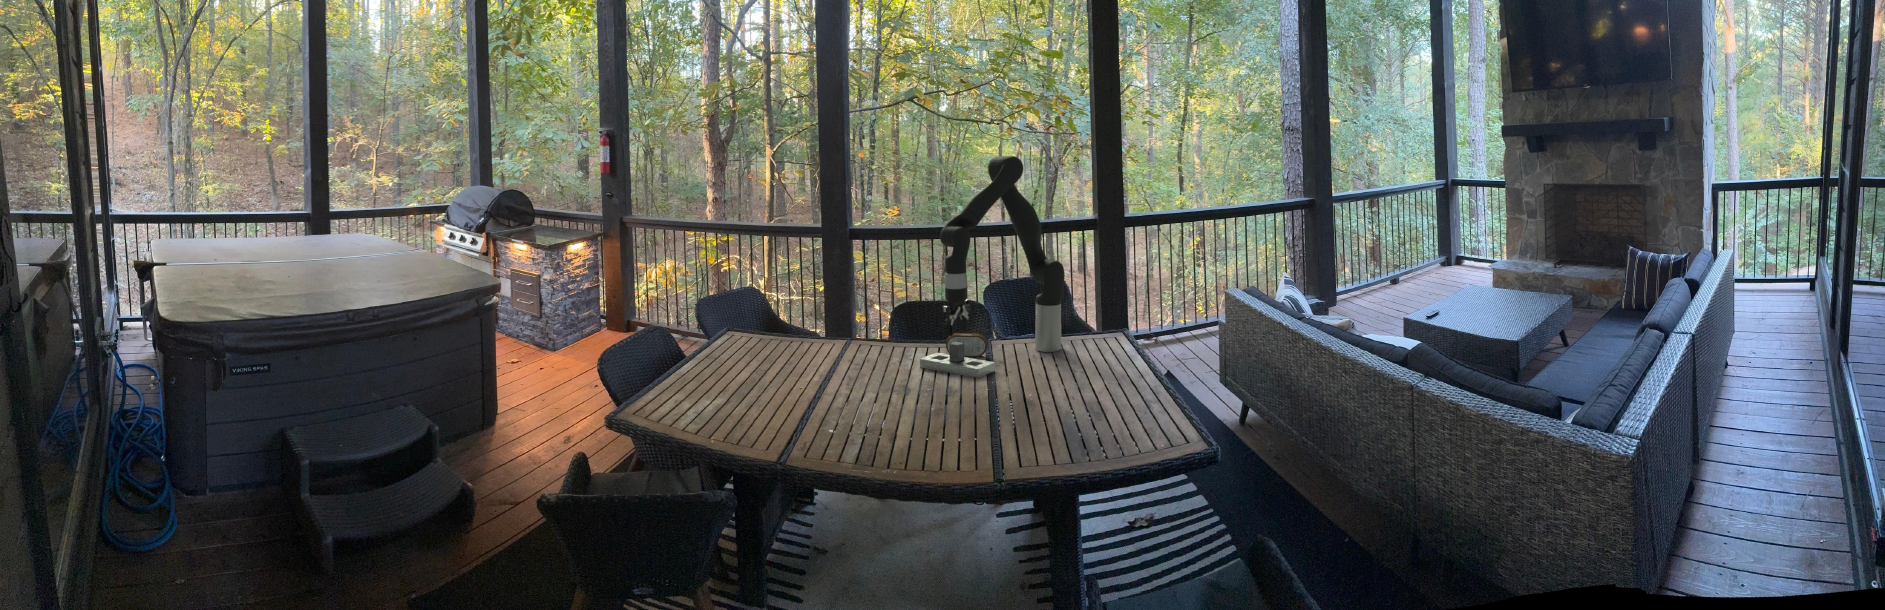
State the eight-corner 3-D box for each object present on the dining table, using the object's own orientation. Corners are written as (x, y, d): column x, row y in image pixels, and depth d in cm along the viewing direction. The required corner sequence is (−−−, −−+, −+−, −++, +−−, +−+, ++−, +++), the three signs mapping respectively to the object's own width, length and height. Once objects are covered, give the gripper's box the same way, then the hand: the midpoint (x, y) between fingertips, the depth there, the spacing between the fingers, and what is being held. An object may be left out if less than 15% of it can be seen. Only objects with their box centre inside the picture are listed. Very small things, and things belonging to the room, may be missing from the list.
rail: (936, 360, 319) (936, 352, 318) (994, 370, 305) (994, 362, 305) (920, 367, 311) (919, 358, 311) (978, 377, 297) (978, 369, 297)
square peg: (955, 367, 311) (955, 341, 309) (964, 368, 309) (964, 343, 307) (949, 369, 308) (949, 343, 306) (958, 371, 306) (958, 345, 304)
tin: (987, 355, 326) (987, 332, 324) (987, 357, 322) (987, 334, 321) (946, 355, 327) (945, 332, 325) (945, 357, 324) (945, 334, 322)
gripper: (953, 290, 295) (954, 338, 298) (977, 283, 306) (978, 329, 309) (934, 288, 299) (935, 336, 302) (958, 281, 310) (959, 327, 314)
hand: (957, 332), depth 306 cm, fingers open, 8 cm apart
